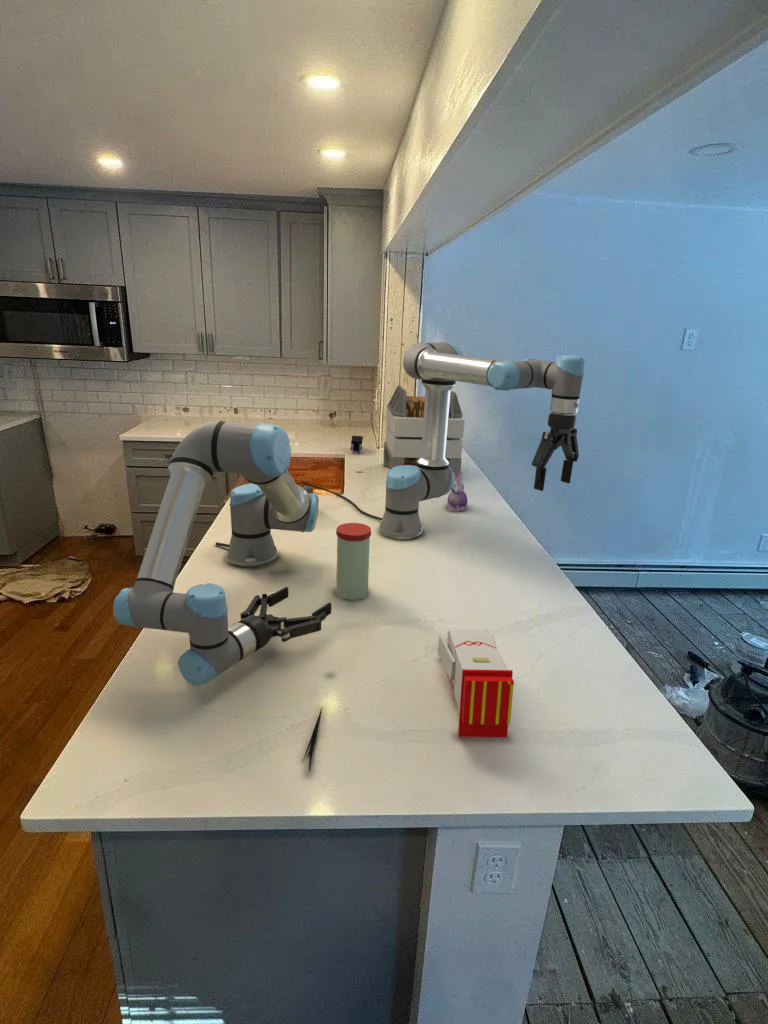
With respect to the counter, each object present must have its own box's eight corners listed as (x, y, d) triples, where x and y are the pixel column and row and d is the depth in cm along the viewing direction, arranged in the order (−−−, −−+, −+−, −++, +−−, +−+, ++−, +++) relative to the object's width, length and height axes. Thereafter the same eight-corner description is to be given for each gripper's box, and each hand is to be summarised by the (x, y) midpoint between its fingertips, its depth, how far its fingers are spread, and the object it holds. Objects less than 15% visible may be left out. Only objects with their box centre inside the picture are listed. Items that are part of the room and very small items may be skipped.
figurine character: (362, 457, 305) (363, 447, 318) (362, 443, 301) (363, 434, 315) (350, 456, 304) (351, 447, 318) (350, 443, 301) (351, 434, 314)
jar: (372, 597, 155) (374, 534, 149) (341, 601, 152) (342, 538, 146) (361, 583, 163) (363, 523, 157) (332, 587, 160) (333, 526, 154)
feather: (331, 679, 122) (336, 673, 122) (307, 777, 96) (313, 769, 95) (324, 675, 122) (329, 669, 121) (298, 772, 95) (304, 764, 95)
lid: (375, 539, 149) (376, 533, 149) (342, 542, 146) (342, 537, 146) (364, 526, 157) (364, 521, 157) (332, 529, 154) (332, 524, 154)
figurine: (454, 513, 222) (457, 476, 217) (439, 505, 230) (442, 470, 225) (473, 510, 226) (477, 474, 221) (459, 503, 234) (462, 468, 229)
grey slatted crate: (382, 463, 289) (386, 382, 275) (445, 464, 293) (451, 384, 279) (390, 482, 257) (394, 392, 243) (460, 483, 261) (468, 394, 247)
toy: (488, 613, 130) (523, 677, 101) (484, 667, 133) (517, 744, 104) (435, 612, 130) (455, 676, 101) (432, 666, 133) (451, 743, 103)
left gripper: (207, 634, 131) (270, 598, 148) (289, 672, 118) (348, 628, 136) (205, 605, 128) (270, 572, 145) (289, 641, 116) (349, 600, 133)
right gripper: (548, 419, 148) (537, 496, 155) (598, 411, 163) (586, 482, 171) (525, 414, 153) (515, 489, 160) (575, 407, 169) (564, 476, 176)
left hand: (308, 599), depth 140 cm, fingers open, 13 cm apart
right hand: (552, 485), depth 166 cm, fingers open, 13 cm apart
